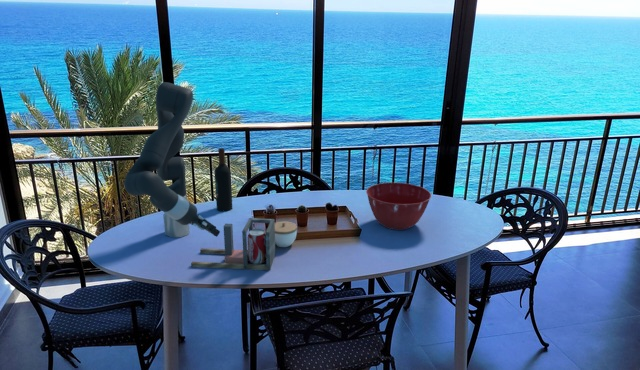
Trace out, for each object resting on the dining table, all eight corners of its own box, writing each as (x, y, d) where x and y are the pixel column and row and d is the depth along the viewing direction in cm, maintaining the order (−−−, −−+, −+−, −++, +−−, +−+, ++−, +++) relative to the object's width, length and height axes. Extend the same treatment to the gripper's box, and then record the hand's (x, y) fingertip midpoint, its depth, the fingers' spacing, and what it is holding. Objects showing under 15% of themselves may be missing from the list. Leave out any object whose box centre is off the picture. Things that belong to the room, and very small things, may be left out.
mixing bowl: (400, 243, 185) (403, 208, 180) (351, 222, 205) (353, 190, 200) (440, 225, 202) (444, 193, 197) (391, 208, 223) (393, 178, 218)
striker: (224, 263, 165) (222, 228, 161) (228, 255, 171) (226, 221, 166) (246, 264, 165) (245, 229, 160) (249, 256, 170) (248, 222, 166)
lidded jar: (272, 237, 187) (272, 217, 185) (297, 238, 187) (297, 217, 184) (268, 249, 177) (268, 227, 174) (295, 250, 177) (295, 228, 174)
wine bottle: (224, 212, 213) (221, 151, 204) (213, 209, 217) (209, 149, 207) (235, 207, 219) (232, 148, 210) (224, 204, 223) (221, 146, 214)
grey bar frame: (191, 266, 163) (188, 229, 158) (201, 251, 174) (198, 216, 170) (270, 270, 162) (269, 232, 157) (275, 254, 173) (274, 219, 168)
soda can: (265, 266, 164) (264, 236, 161) (246, 265, 165) (245, 235, 161) (268, 257, 171) (267, 228, 167) (250, 256, 171) (249, 227, 168)
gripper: (198, 204, 142) (229, 227, 154) (173, 194, 151) (204, 216, 163) (185, 224, 140) (217, 246, 152) (161, 213, 149) (193, 234, 161)
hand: (210, 230), depth 158 cm, fingers open, 8 cm apart
